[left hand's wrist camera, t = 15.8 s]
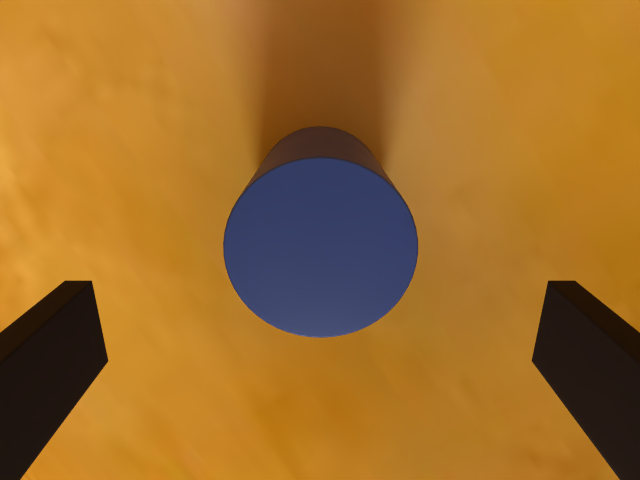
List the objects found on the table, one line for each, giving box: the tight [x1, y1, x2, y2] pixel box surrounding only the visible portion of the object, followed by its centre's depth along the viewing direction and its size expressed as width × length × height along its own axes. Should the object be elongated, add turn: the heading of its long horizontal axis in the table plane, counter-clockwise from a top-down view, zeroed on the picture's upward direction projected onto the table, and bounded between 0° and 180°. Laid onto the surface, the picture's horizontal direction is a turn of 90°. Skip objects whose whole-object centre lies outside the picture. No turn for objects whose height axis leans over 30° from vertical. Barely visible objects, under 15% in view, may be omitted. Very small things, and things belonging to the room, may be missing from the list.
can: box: [223, 127, 418, 337], centre depth 23 cm, size 8×8×11 cm
